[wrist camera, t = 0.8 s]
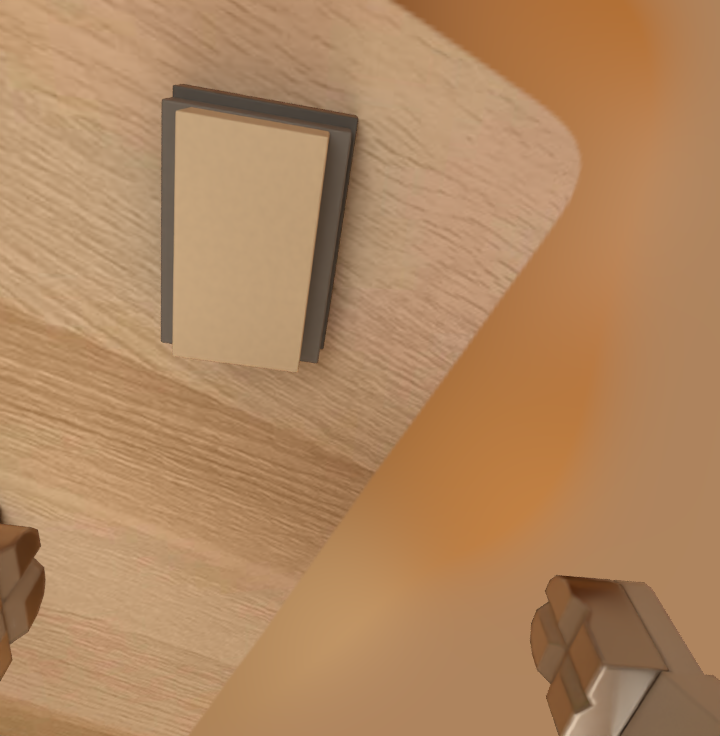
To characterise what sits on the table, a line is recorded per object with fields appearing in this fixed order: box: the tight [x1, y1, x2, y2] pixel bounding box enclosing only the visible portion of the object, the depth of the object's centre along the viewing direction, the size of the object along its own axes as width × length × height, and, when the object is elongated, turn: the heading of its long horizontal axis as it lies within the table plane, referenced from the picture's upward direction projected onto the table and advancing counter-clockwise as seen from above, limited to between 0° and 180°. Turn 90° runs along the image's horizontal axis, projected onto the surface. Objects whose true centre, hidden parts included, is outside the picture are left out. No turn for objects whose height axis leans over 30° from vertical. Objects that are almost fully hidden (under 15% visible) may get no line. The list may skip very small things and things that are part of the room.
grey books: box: [161, 84, 358, 363], centre depth 23 cm, size 10×7×3 cm
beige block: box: [172, 107, 330, 372], centre depth 21 cm, size 9×5×2 cm, turn 170°
